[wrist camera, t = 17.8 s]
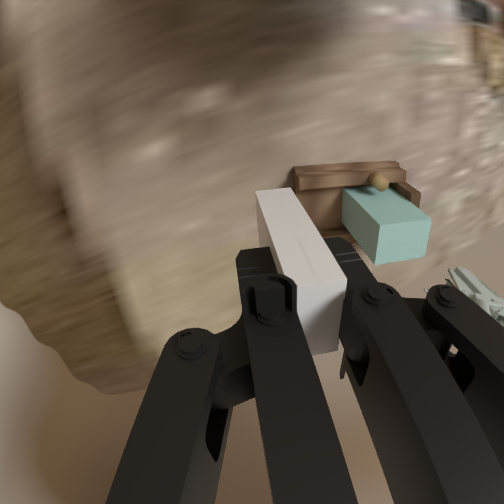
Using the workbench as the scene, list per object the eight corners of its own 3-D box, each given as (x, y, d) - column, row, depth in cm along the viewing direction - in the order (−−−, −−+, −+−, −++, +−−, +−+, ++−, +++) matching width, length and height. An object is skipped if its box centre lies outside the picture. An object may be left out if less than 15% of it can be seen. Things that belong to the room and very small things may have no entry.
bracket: (496, 274, 56) (548, 331, 39) (480, 299, 60) (527, 358, 43) (419, 253, 50) (486, 332, 33) (401, 286, 53) (457, 369, 36)
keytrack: (295, 241, 46) (308, 269, 40) (293, 166, 40) (308, 185, 34) (388, 229, 46) (410, 253, 40) (395, 161, 41) (422, 178, 35)
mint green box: (341, 221, 43) (374, 265, 34) (342, 187, 41) (379, 225, 31) (384, 216, 44) (424, 256, 35) (388, 184, 41) (431, 219, 32)
